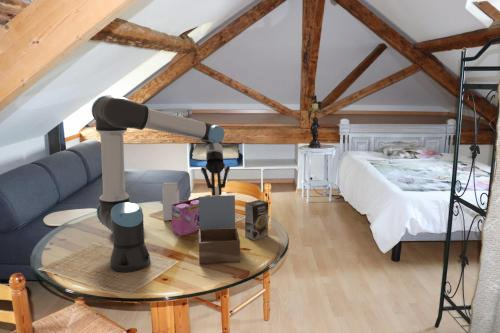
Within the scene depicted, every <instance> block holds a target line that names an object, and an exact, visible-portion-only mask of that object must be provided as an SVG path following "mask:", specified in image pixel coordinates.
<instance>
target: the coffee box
mask: <svg viewBox="0 0 500 333" xmlns="http://www.w3.org/2000/svg"><path fill="white" fill-rule="evenodd" d="M244 204H245V208H244V212H245V214H244V217H245V218H244V221H245V222H244V237H245V238H247V239H250V240H252V241H255V240H259V239H261V238H264V237H268V236H269V201H265V200H261V199H258V200H257V199H256V200H253V201H250V202H245V203H244Z"/></svg>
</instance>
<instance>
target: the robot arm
mask: <svg viewBox="0 0 500 333" xmlns="http://www.w3.org/2000/svg"><path fill="white" fill-rule="evenodd" d="M91 115H92V118H93V119H94V120H95V131H96V132H97V133H99V135H100V156H101V158H100V159H101V174H102V175H101V177H102V178H101V179H102V194H101V195H100V196H99V200H98V201H99V202H98V203H99V204H97V207H96V217H97V220H99V222H100V223H101V225H103V226H104V227H105V228H107V229H108V230H110V231H111V232H112V242H113V243H112V244H113V245H112V246H113V247H112V252H111V255H110V259H109V267H110V269H112V270H113V271H115V272H119V273H120V272H121V273H130V272H131V273H132V272H137V271H139V270H142V269H145V268H147V267H148V266H149V265H150V263H151V256H150V253H149V250H148V248H147V246H146V244H145V228H144V227H145V226H144V224H145V223H144V213H143V209H142V207H141V206H140V205H139V204H138V203H135V202H133V203H132V202H130V195H129V194H128V193H127V192H126V182H125V181H126V178H125V177H126V174H125V150H124V147H125V146H124V134H125V133H126V132H127V131H128V129H134V130H139V131H140V130H141V131H142V130H144V129H149V130H153V131H157V132H162V133H167V134H171V135H176V136H181V137H185V138H190V139H195V140H198V141H201V142H202V143H205V154H206V158H205V159H206V164H205V166H204V167H203V166H201V168H200V171H201V173H202V174H203V176H204V177H203V178H204V179H205V184H206V186H207V189H211V196H222V189H225V187H226V184H227V183H226V182H227V178H228V174H229V172H230V171H231V170H230V169H231V167H230V166H229V165H228V166H226V164H225V163H224V154H223V153H224V150H223V140H224V138H225V135H226V134H225V130H224V128H223V127H222V126H220V125H218V124H213V123H208V122H205V121H200V120H196V119H194V118H192V117H191V118H188V117H185V116H180V115H176V114H173V113H168V112H164V111H160V110H157V109H152V108H149V106H148V105H146V104H145V103H139V102H137V101H134V100H132V99H130V98H127V97H123V96H119V95H112V94H108V95H101V96H99V97H98V98H97V99H96V100H94V101H93V104H92V106H91ZM223 170H224V174H223V179H221V178H222V176H221V173H222V171H223ZM207 171H208V172H209V173H210V174H211V176H210V177H211V181H210V177H209V175H208V173H207ZM215 174H216V177H217V186H216V182H215V181H216V180H215ZM147 265H148V266H147Z"/></svg>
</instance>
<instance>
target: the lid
mask: <svg viewBox="0 0 500 333" xmlns="http://www.w3.org/2000/svg"><path fill="white" fill-rule="evenodd" d="M198 198H199V222H200V230H207V229H228V228H236V195H235V194H234V195H233V194H231V195H229V194H228V195H219V196H215V195H211V196H207V195H203V197H202V196H198Z"/></svg>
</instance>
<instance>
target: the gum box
mask: <svg viewBox="0 0 500 333" xmlns="http://www.w3.org/2000/svg"><path fill="white" fill-rule="evenodd" d="M203 196H204V195H203ZM203 196H201V197H203ZM206 196H212V194H207V195H206ZM171 206H172V221H171V225H172V233H173V234H177V235H179V236H181V237H182V236H186V235H190V234H192V233H195V231H196V232H198V231H197V230H199V229H200V222H199V197H195V198H193V199H189V200H185V201H182V202H180V201H179V203H176V204H173V205H171Z"/></svg>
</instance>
